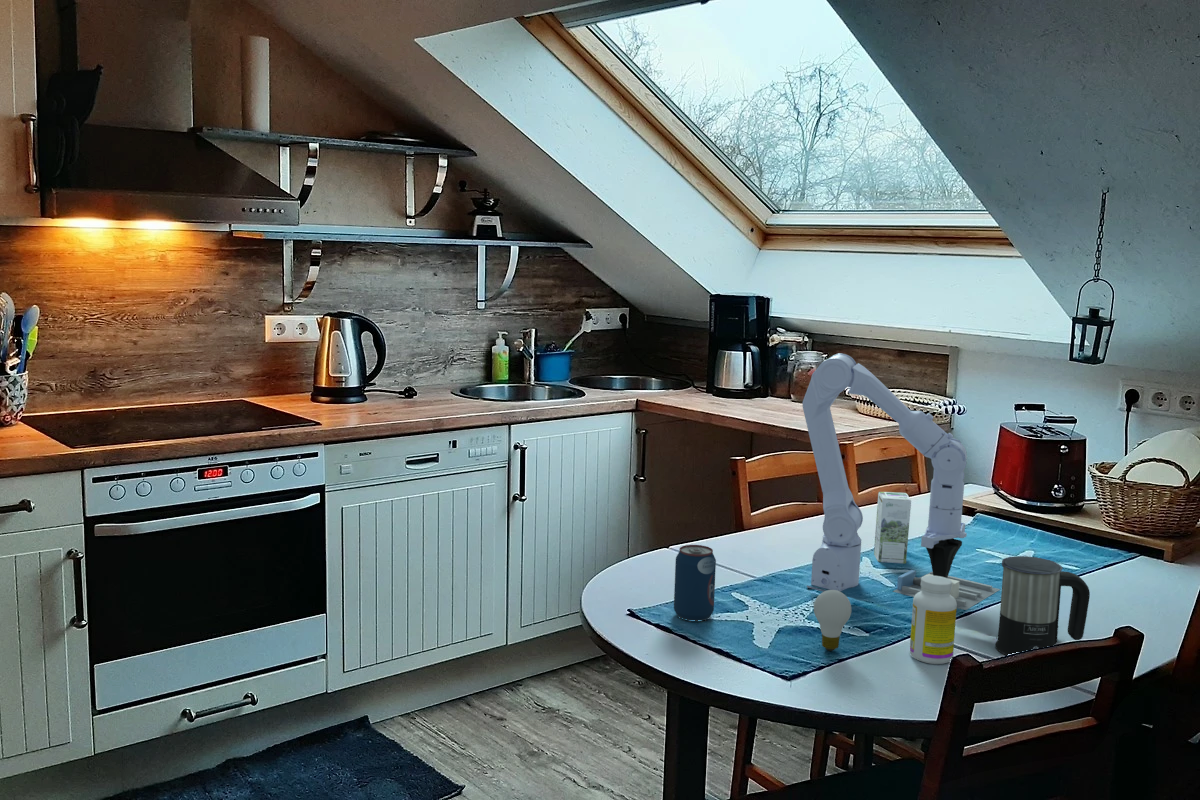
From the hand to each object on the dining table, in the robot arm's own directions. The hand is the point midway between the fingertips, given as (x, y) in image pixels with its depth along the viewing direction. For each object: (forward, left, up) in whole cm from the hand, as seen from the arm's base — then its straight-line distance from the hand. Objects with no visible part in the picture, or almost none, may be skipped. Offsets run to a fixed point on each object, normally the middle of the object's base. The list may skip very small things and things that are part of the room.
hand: (940, 577), depth 199 cm
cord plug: (0, 0, -3) cm, 3 cm away
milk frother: (-10, -19, -4) cm, 22 cm away
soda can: (-40, +27, -4) cm, 48 cm away
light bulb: (-36, +2, -4) cm, 37 cm away
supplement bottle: (-28, -11, -4) cm, 30 cm away
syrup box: (+14, +17, -4) cm, 23 cm away
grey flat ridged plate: (+4, 0, -4) cm, 5 cm away
